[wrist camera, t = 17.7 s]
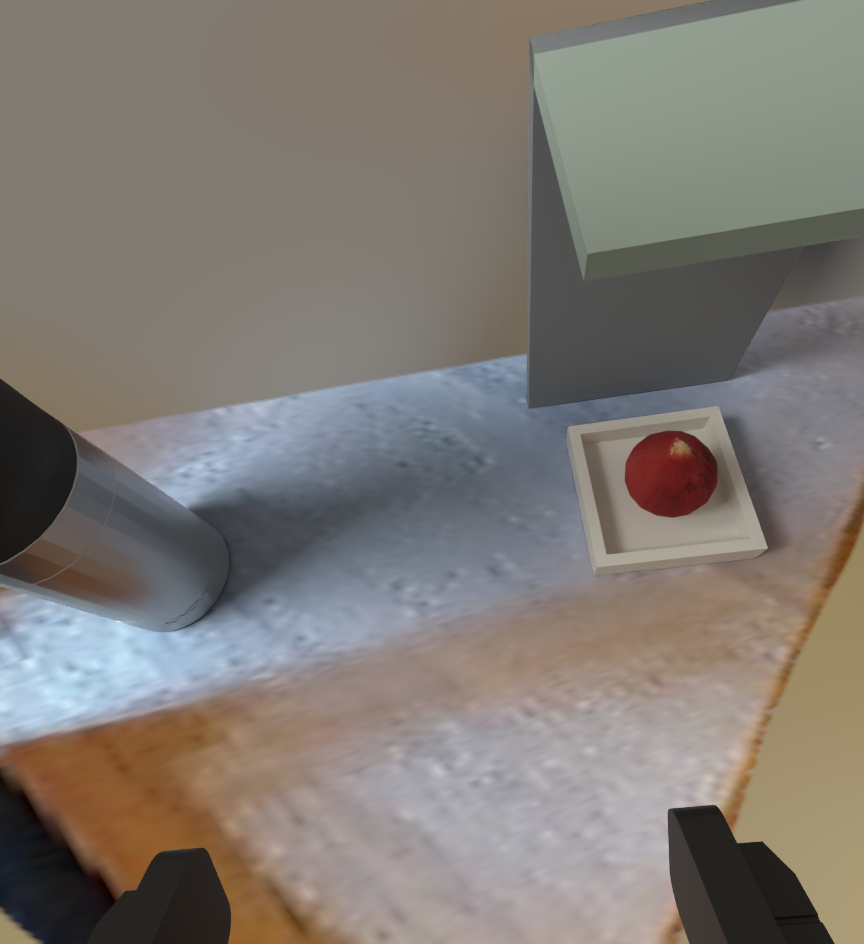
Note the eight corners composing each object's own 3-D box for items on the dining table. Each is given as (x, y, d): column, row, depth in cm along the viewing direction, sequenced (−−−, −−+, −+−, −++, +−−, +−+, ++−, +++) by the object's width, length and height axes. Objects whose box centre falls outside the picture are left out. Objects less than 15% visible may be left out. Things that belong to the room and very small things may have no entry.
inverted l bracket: (774, 506, 41) (1148, 161, 16) (550, 533, 42) (587, 254, 18) (723, 368, 46) (948, -49, 22) (526, 396, 48) (529, 37, 23)
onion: (700, 464, 42) (736, 408, 35) (701, 537, 40) (739, 492, 33) (619, 456, 44) (637, 401, 36) (615, 527, 41) (634, 482, 34)
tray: (755, 558, 39) (767, 548, 37) (593, 576, 40) (597, 567, 38) (709, 421, 44) (718, 405, 42) (565, 440, 45) (567, 426, 43)
